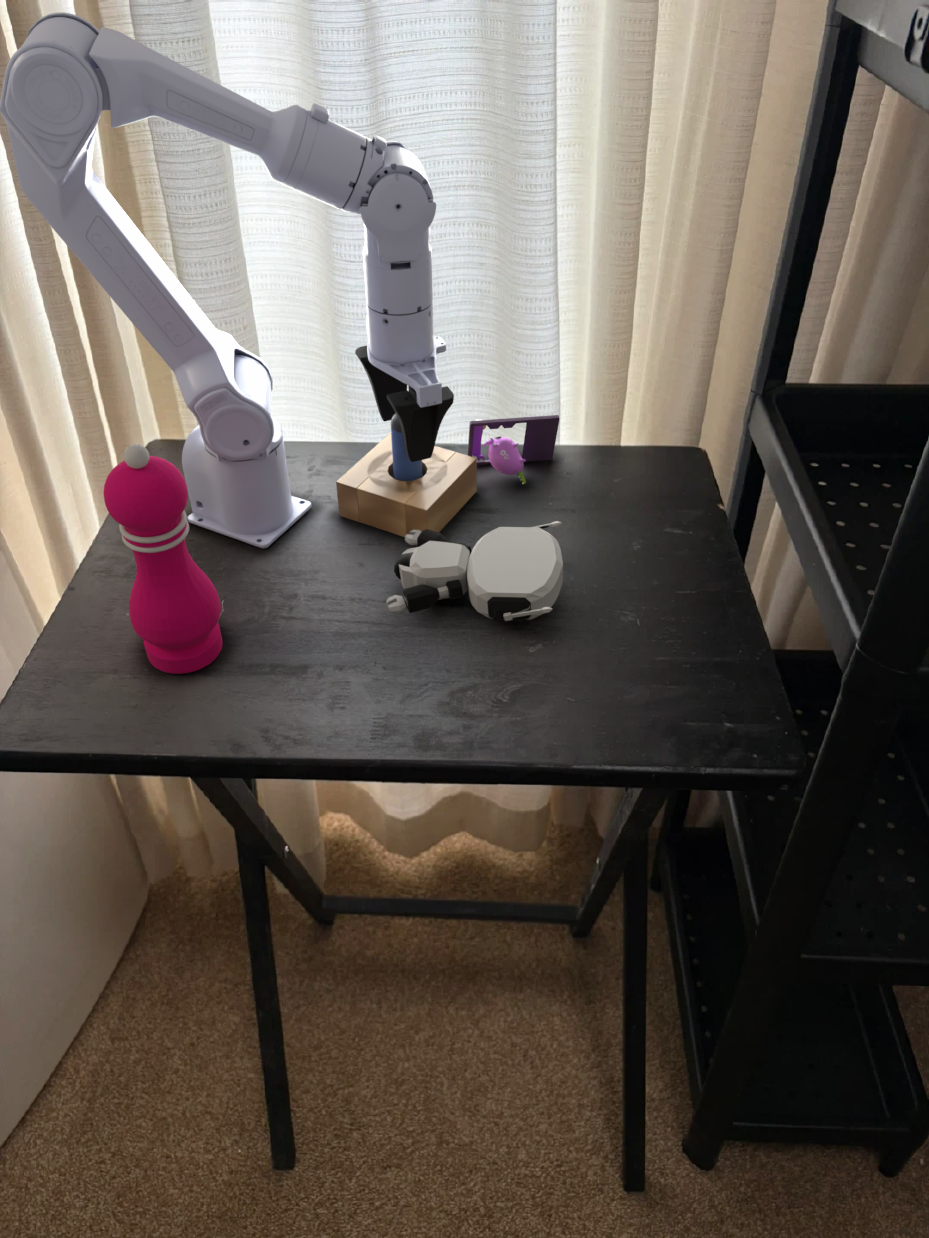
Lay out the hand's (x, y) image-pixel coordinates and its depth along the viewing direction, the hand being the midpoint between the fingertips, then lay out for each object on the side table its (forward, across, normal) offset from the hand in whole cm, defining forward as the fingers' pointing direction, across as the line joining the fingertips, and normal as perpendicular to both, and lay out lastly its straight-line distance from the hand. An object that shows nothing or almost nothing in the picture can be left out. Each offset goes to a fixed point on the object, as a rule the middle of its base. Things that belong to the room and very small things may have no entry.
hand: (405, 437), depth 98 cm
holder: (+8, 0, 0) cm, 8 cm away
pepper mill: (+8, -12, +25) cm, 29 cm away
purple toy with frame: (+8, +1, -12) cm, 14 cm away
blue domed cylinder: (+8, 0, 0) cm, 8 cm away
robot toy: (+8, -15, -1) cm, 17 cm away
